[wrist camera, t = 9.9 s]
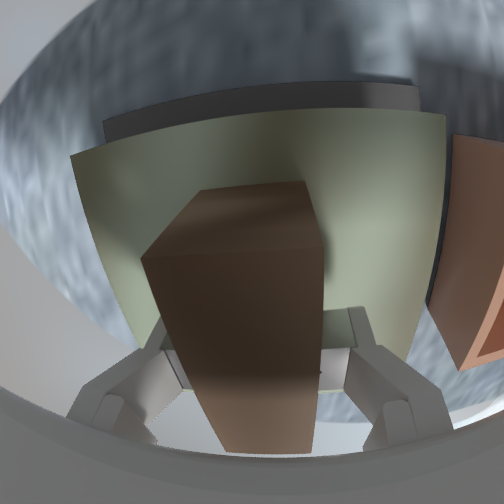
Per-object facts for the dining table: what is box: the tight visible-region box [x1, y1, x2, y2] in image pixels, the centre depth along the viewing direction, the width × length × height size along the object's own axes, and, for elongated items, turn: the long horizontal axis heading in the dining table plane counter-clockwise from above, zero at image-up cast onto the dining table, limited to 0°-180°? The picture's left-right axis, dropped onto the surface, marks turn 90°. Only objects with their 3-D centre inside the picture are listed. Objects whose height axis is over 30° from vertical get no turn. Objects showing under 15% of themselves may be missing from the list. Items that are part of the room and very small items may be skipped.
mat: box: [103, 81, 421, 143], centre depth 13 cm, size 14×14×1 cm
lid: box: [70, 108, 446, 454], centre depth 8 cm, size 12×12×5 cm
